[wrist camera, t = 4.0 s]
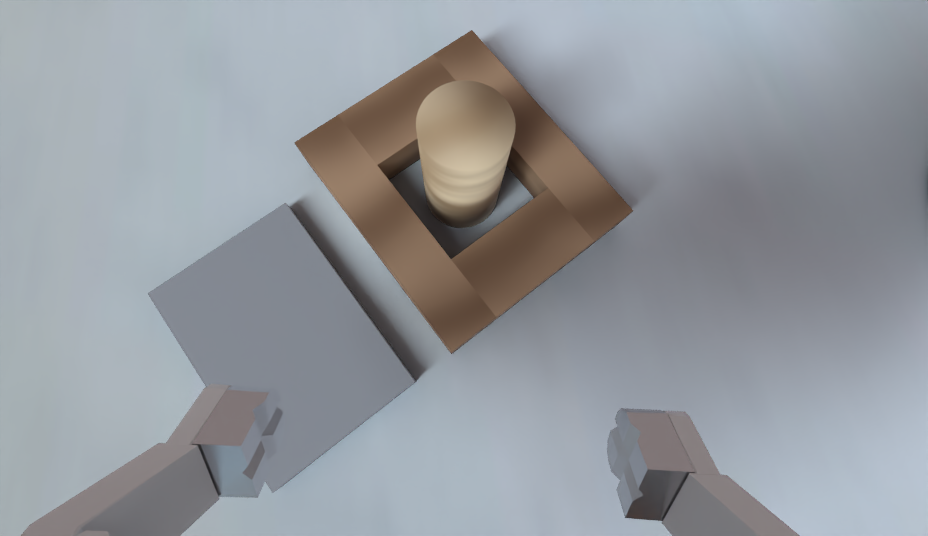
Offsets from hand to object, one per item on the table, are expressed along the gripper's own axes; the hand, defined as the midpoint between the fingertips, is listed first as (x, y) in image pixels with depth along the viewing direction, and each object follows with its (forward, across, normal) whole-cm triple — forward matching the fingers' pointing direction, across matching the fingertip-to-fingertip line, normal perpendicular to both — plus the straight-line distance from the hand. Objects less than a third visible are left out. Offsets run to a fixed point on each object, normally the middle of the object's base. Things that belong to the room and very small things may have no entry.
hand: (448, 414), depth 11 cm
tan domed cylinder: (+19, 0, +2) cm, 19 cm away
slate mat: (+12, +10, +9) cm, 18 cm away
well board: (+19, 0, +2) cm, 19 cm away
